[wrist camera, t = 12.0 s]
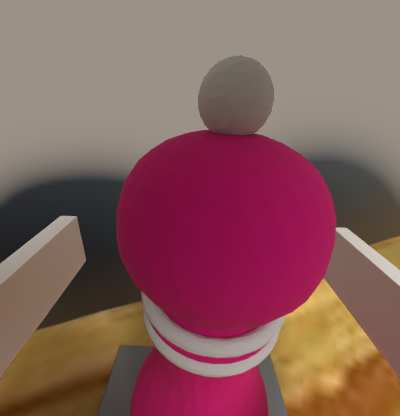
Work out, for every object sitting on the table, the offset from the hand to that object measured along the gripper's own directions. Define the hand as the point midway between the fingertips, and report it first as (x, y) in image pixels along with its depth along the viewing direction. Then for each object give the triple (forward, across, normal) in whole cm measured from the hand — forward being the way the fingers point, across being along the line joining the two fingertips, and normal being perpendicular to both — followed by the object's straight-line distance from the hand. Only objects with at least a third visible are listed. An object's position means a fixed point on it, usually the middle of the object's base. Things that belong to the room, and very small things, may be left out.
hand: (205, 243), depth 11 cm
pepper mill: (-3, 0, -13) cm, 13 cm away
